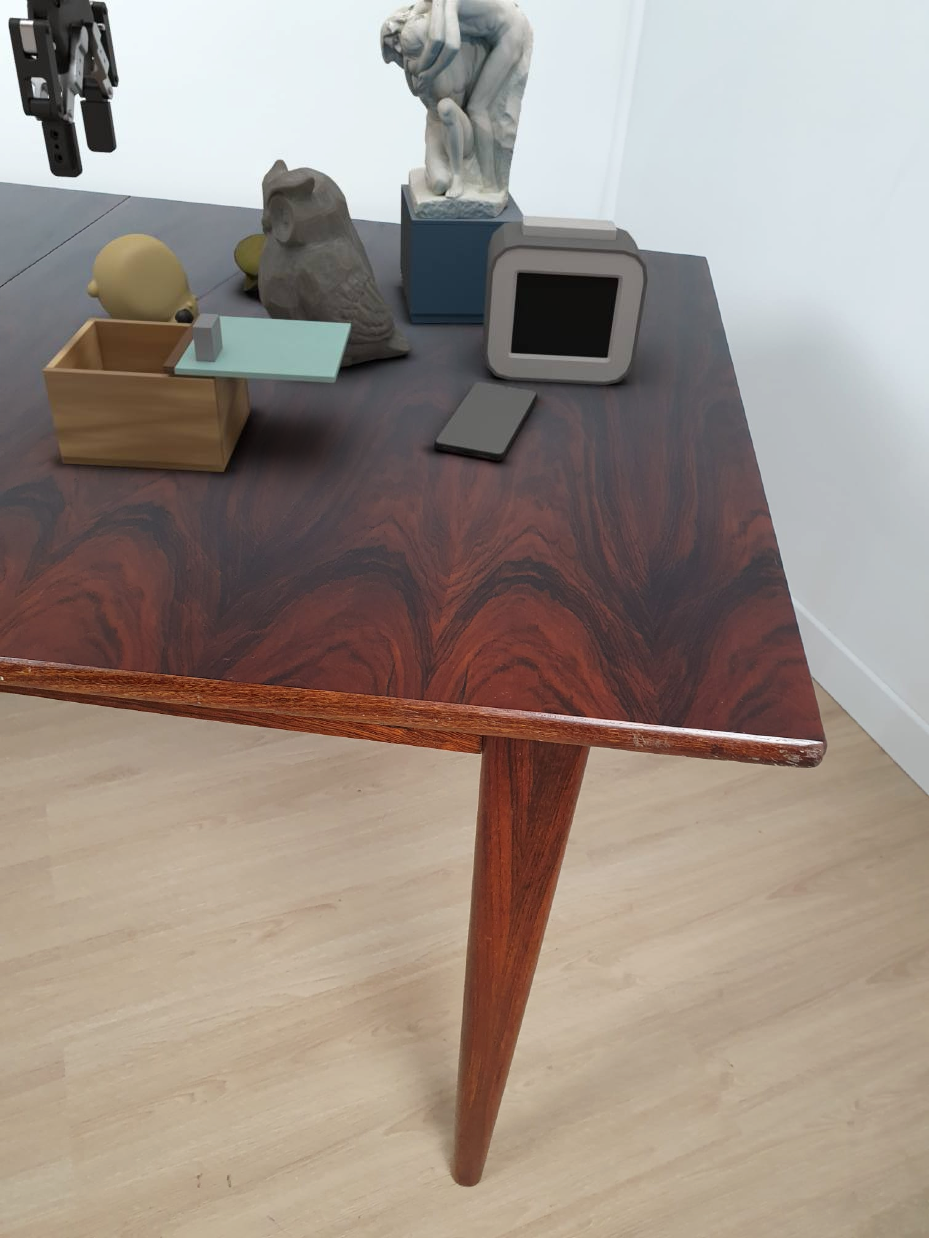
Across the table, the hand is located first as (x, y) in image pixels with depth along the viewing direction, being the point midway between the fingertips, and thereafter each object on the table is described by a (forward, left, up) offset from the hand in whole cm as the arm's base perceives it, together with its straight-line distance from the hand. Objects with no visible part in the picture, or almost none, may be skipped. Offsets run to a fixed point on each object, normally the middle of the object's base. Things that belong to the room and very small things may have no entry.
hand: (86, 163), depth 77 cm
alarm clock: (+48, 0, -24) cm, 53 cm away
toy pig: (+9, +26, -24) cm, 37 cm away
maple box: (+3, -1, -24) cm, 24 cm away
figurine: (+26, +11, -24) cm, 37 cm away
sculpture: (+46, +22, -24) cm, 56 cm away
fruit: (+27, +35, -24) cm, 51 cm away
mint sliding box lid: (+11, -6, -15) cm, 20 cm away
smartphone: (+33, -11, -24) cm, 42 cm away
